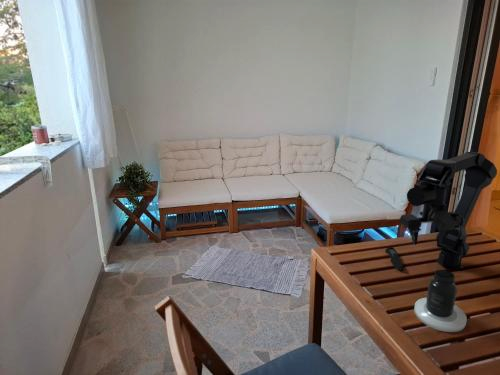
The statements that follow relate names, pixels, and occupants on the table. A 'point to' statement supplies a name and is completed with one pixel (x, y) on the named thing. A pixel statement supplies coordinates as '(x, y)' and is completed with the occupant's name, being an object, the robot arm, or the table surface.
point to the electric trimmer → (394, 258)
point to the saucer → (440, 318)
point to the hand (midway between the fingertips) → (427, 243)
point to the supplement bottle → (441, 294)
